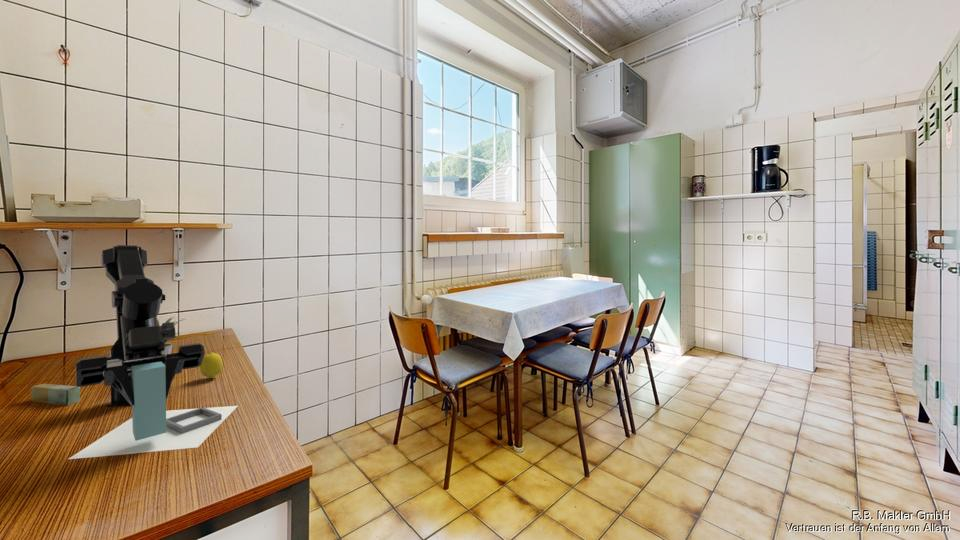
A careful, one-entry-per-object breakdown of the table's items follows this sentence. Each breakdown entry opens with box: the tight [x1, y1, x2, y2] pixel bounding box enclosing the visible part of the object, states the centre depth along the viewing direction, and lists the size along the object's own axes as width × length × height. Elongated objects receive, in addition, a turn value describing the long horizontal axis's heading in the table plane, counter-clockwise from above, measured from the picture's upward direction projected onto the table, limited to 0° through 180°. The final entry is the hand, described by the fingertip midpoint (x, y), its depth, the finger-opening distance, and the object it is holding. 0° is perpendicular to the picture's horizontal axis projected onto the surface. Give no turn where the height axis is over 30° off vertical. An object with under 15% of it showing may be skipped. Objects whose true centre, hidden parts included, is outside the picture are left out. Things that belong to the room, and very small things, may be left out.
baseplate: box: [67, 405, 238, 460], centre depth 79 cm, size 20×20×1 cm
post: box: [131, 362, 167, 441], centre depth 72 cm, size 4×4×13 cm
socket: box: [166, 406, 222, 434], centre depth 81 cm, size 8×8×1 cm
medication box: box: [30, 383, 81, 406], centre depth 94 cm, size 12×3×4 cm, turn 80°
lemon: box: [199, 351, 224, 379], centre depth 112 cm, size 6×6×8 cm
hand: (150, 401), depth 71 cm, fingers closed on post, 4 cm apart
